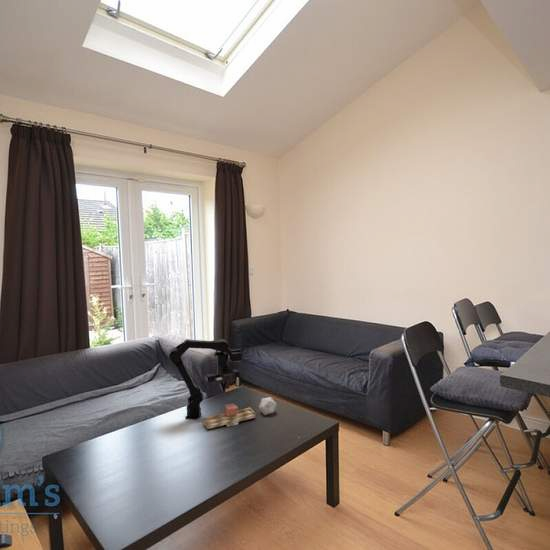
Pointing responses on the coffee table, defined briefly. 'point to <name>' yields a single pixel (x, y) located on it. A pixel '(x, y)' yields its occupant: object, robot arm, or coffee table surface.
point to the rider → (231, 410)
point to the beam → (228, 418)
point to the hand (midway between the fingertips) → (223, 390)
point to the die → (267, 405)
